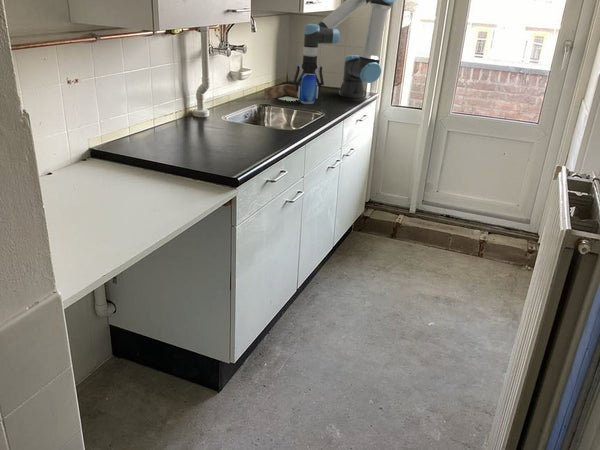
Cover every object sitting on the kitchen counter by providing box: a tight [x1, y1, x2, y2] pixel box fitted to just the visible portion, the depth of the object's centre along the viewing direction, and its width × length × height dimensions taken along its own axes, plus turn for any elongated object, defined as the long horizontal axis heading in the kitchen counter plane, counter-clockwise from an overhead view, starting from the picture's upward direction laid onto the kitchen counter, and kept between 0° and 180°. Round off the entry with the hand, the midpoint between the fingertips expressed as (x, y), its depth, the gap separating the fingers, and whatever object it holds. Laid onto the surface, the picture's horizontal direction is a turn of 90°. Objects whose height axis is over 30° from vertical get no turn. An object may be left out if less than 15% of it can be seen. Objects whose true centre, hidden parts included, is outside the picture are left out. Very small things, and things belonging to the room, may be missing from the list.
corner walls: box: [263, 83, 300, 101], centre depth 296 cm, size 20×16×6 cm
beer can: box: [299, 73, 317, 105], centre depth 289 cm, size 8×8×16 cm
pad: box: [277, 95, 300, 103], centre depth 298 cm, size 9×9×1 cm
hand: (307, 97), depth 292 cm, fingers open, 9 cm apart
